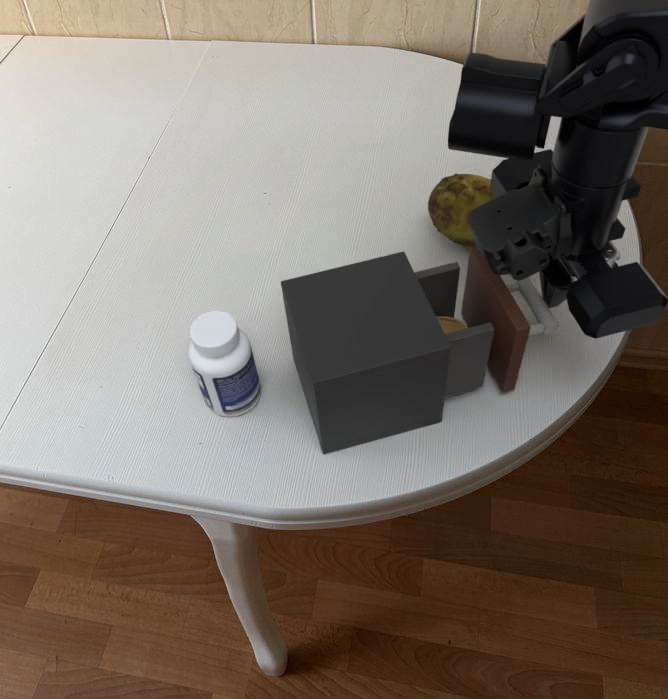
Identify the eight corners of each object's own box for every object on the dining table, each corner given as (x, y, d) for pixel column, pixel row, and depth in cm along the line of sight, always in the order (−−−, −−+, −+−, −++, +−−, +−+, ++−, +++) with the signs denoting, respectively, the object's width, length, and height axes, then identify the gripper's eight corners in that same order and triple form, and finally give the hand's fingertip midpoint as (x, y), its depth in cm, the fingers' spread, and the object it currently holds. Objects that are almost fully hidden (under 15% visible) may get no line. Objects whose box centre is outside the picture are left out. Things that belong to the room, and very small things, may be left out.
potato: (539, 283, 72) (554, 225, 66) (418, 256, 75) (421, 198, 69) (553, 230, 77) (569, 170, 70) (439, 206, 80) (443, 148, 74)
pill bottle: (270, 378, 67) (256, 311, 59) (248, 425, 64) (229, 361, 56) (219, 365, 68) (198, 298, 60) (194, 410, 65) (169, 345, 57)
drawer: (512, 300, 70) (527, 233, 62) (558, 378, 64) (580, 313, 57) (377, 335, 68) (377, 270, 61) (412, 418, 62) (416, 357, 55)
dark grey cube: (401, 330, 69) (404, 250, 61) (441, 422, 63) (451, 347, 54) (293, 358, 68) (280, 280, 59) (323, 454, 61) (313, 383, 53)
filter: (479, 347, 65) (482, 330, 63) (453, 385, 62) (455, 369, 60) (431, 325, 67) (433, 308, 65) (404, 361, 64) (405, 344, 62)
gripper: (440, 113, 55) (429, 254, 68) (546, 279, 44) (510, 411, 57) (571, 85, 57) (536, 229, 69) (705, 239, 46) (635, 377, 58)
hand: (550, 304), depth 63 cm, fingers closed, pressing on drawer
